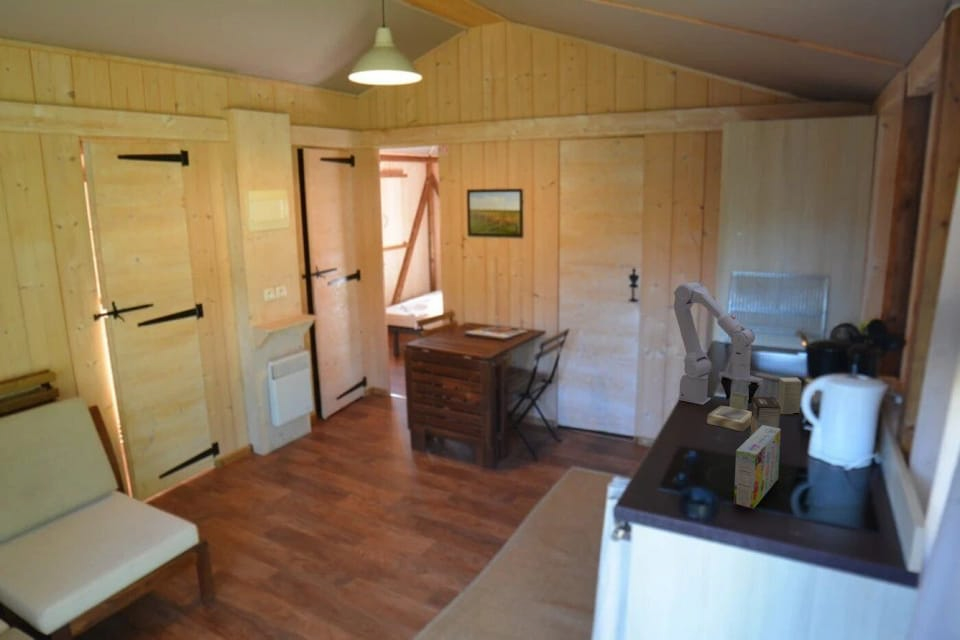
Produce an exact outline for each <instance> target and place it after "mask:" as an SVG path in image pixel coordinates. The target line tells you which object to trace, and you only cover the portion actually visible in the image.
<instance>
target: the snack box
mask: <svg viewBox="0 0 960 640" xmlns="http://www.w3.org/2000/svg"><path fill="white" fill-rule="evenodd" d="M781 431H782V429H781V428H780V427H779V428H775V427H770V426H765V425H762V426H761V427H760V428H759V429H758V430H757V431H756V432H755V433H754V434H753V435H752V436H751V437H750V436H749V438H748V437H747V439H746V440H745V441H744V442H743V443H742V444H741V445H740V446H739V447H738V448H737V449H736V450H735V471H734V472H735V473H734V491H733V492H734V493H733V494H734V495H733V504H734V505H737V506H739V507H743V508H748V509H751V510H754V509H755V508H756V506H757V505H758V504H759V503H760V502H761V501H762V499H763V498H764V497H765V495H766V494H767V493H768V492H769V490H771V488H772V487H773V486H774V485H775V484H776V482H777V481H778V480H779V467H780V450H781V433H782V432H781Z"/></svg>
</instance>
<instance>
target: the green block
mask: <svg viewBox="0 0 960 640" xmlns="http://www.w3.org/2000/svg"><path fill="white" fill-rule="evenodd" d="M748 398H749V393H748V394H746V393H742V392H737V391H734V392H733V393H731V395H730V398H729V407H732V408H737V409H742V410H746V411H748V404H749V403H748Z"/></svg>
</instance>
